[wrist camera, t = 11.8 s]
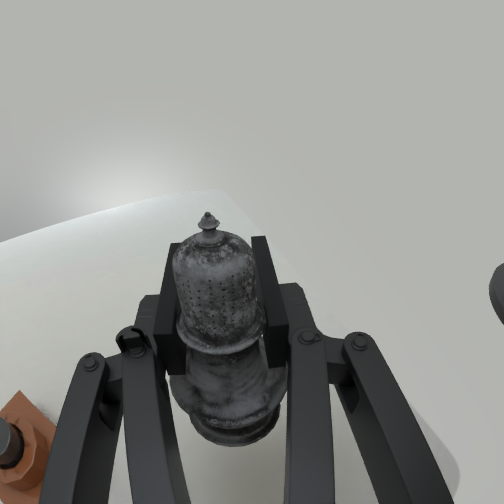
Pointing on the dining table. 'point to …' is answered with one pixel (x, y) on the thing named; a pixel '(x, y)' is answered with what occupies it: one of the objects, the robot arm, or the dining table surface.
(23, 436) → the brown square base plate
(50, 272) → the dining table surface
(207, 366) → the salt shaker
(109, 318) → the dining table surface
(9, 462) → the button
